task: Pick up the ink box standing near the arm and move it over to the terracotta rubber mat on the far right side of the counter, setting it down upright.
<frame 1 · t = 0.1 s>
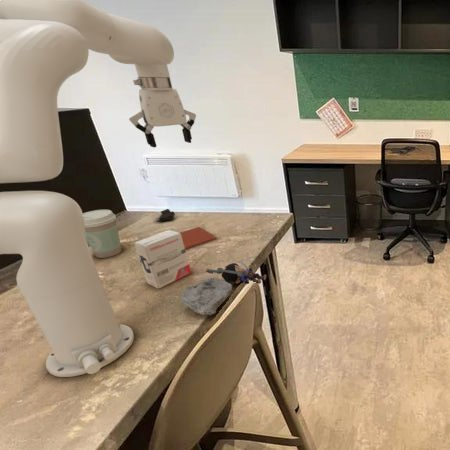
hand: (171, 144, 104), 27 cm above the table, tool pointing down, fingers open, 9 cm apart
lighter: (175, 213, 122), point 1 cm above the table
ink box: (170, 278, 87), on the table
stone: (209, 281, 80), point 4 cm above the table
side mat: (191, 238, 107), on the table
coffee cup: (109, 253, 98), on the table
toy: (263, 275, 84), point 3 cm above the table
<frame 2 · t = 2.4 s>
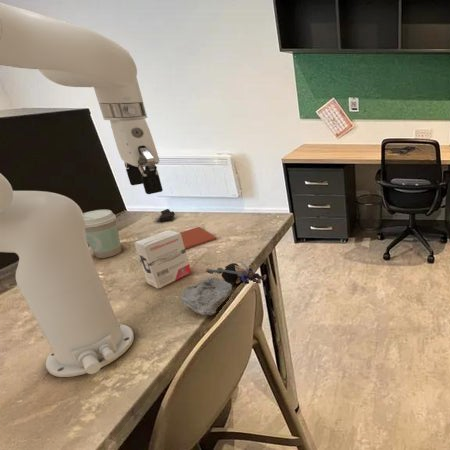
hand: (146, 188, 79), 23 cm above the table, tool pointing down, fingers open, 9 cm apart
nothing on the table moved.
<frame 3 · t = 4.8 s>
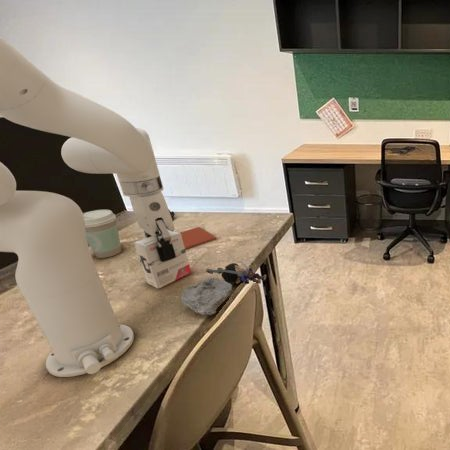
hand: (163, 254, 84), 7 cm above the table, tool pointing down, fingers closed on ink box, 5 cm apart
ink box: (170, 278, 87), on the table, touching gripper
everything else where it was.
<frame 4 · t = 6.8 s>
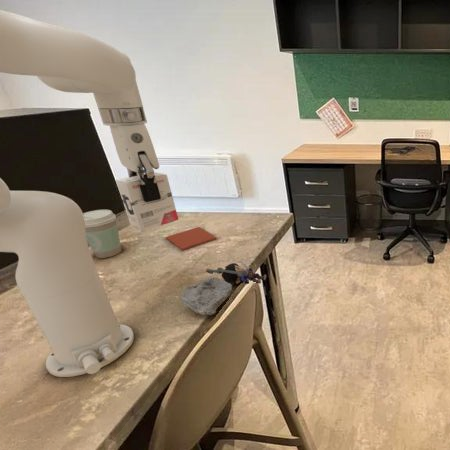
hand: (147, 196, 79), 22 cm above the table, tool pointing down, fingers closed on ink box, 5 cm apart
ink box: (156, 224, 82), point 15 cm above the table, touching gripper
everything else where it was.
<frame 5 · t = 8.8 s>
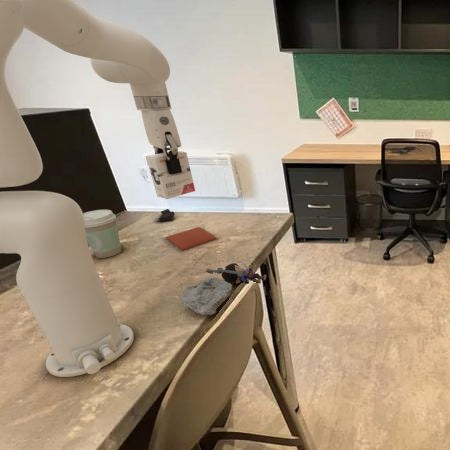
hand: (170, 170, 96), 23 cm above the table, tool pointing down, fingers closed on ink box, 5 cm apart
ink box: (177, 194, 99), point 16 cm above the table, touching gripper
everything else where it was.
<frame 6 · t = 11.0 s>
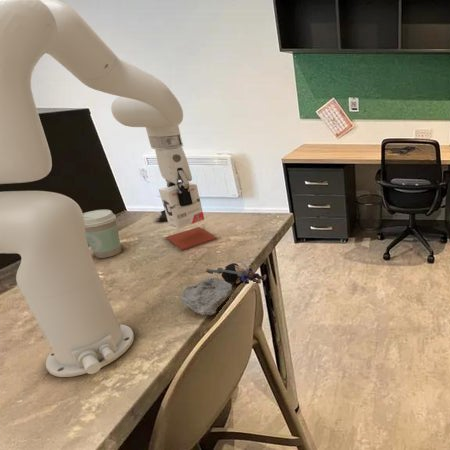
hand: (181, 201, 102), 12 cm above the table, tool pointing down, fingers closed on ink box, 5 cm apart
ink box: (187, 223, 105), point 5 cm above the table, touching gripper
everything else where it was.
when the fingers open (7 cm above the table, at t = 12.7 s): ink box stays where it is, resting on side mat.
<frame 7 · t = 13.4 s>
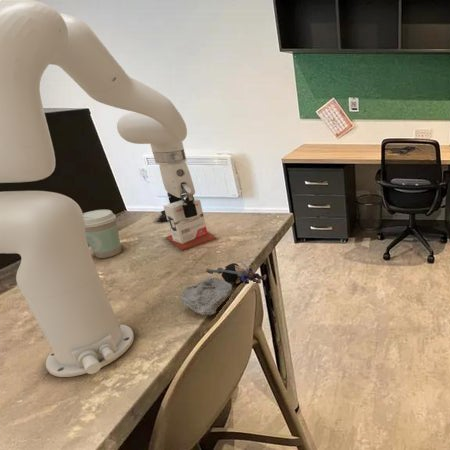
hand: (184, 212, 103), 9 cm above the table, tool pointing down, fingers open, 9 cm apart
ink box: (191, 237, 107), resting on side mat
everything else where it was.
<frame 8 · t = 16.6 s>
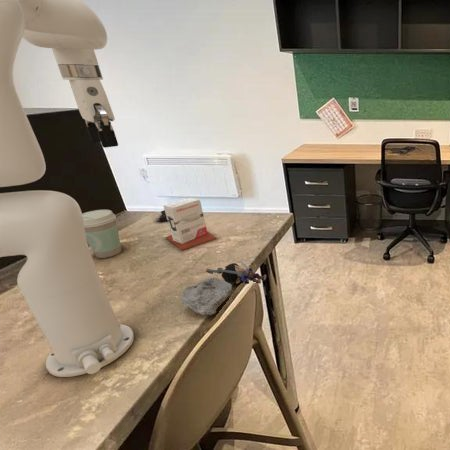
hand: (105, 143, 90), 30 cm above the table, tool pointing down, fingers open, 9 cm apart
nothing on the table moved.
at the end: ink box inside the target area on the side mat (0.1 cm from its centre), point 0.4 cm above the side mat's base; ink box tilted 0°; the gripper is holding nothing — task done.
